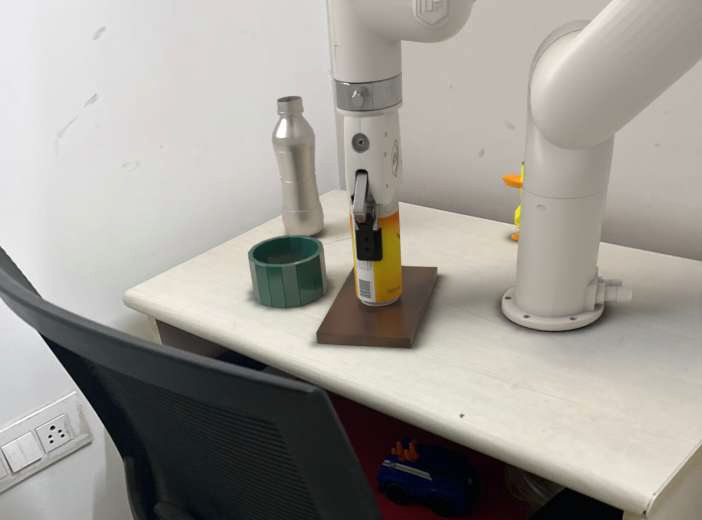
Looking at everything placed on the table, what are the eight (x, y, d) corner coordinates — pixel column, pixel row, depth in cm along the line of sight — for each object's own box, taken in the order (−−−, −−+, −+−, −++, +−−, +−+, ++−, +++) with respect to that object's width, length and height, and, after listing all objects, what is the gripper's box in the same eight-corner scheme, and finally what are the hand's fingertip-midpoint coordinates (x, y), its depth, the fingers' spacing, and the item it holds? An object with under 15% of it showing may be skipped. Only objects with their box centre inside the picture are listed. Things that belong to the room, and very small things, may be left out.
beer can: (410, 291, 103) (406, 175, 93) (388, 311, 99) (382, 193, 89) (371, 284, 105) (363, 171, 96) (348, 303, 102) (337, 188, 92)
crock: (335, 275, 112) (331, 235, 108) (315, 309, 105) (310, 267, 101) (268, 273, 115) (262, 234, 111) (244, 306, 107) (236, 265, 103)
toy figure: (493, 237, 117) (497, 154, 109) (507, 229, 119) (512, 147, 111) (532, 246, 113) (539, 162, 105) (545, 238, 115) (553, 154, 107)
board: (437, 276, 109) (437, 266, 108) (410, 348, 94) (410, 337, 93) (355, 274, 112) (354, 264, 111) (316, 343, 98) (315, 332, 97)
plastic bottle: (321, 241, 122) (307, 104, 109) (280, 242, 123) (261, 106, 110) (329, 225, 127) (316, 92, 114) (289, 226, 128) (272, 94, 115)
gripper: (384, 115, 79) (390, 280, 91) (416, 72, 91) (418, 222, 103) (314, 116, 81) (329, 277, 93) (355, 74, 93) (363, 221, 105)
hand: (376, 247), depth 98 cm, fingers closed on beer can, 6 cm apart
